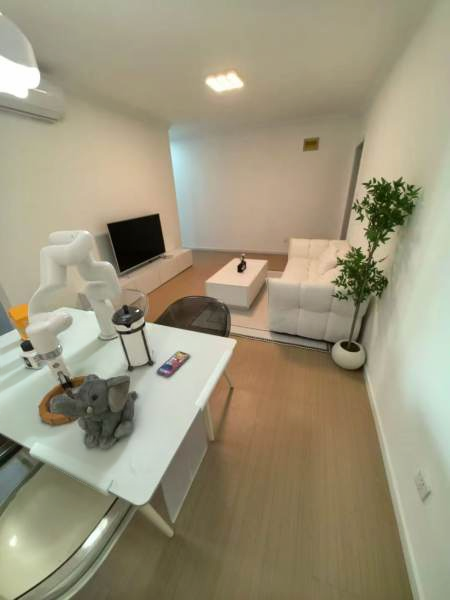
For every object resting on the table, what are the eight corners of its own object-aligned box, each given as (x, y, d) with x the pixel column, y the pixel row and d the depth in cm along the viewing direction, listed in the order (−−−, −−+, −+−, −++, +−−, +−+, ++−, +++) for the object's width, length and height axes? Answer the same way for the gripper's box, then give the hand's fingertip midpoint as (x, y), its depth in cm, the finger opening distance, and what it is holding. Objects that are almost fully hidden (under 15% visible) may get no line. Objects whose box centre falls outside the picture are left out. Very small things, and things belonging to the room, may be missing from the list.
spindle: (77, 394, 92) (72, 383, 89) (80, 400, 89) (74, 389, 86) (66, 400, 89) (60, 389, 87) (68, 406, 87) (62, 395, 84)
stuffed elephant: (82, 471, 66) (43, 407, 54) (82, 416, 83) (53, 357, 71) (148, 437, 74) (128, 375, 62) (136, 393, 91) (119, 337, 79)
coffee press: (164, 354, 111) (152, 299, 98) (139, 376, 99) (121, 316, 85) (139, 345, 119) (124, 293, 106) (113, 364, 106) (93, 308, 93)
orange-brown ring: (93, 373, 102) (91, 368, 100) (107, 400, 88) (105, 394, 87) (39, 400, 90) (36, 395, 89) (46, 435, 76) (42, 430, 75)
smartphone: (156, 372, 100) (178, 352, 112) (169, 377, 97) (190, 356, 108) (156, 370, 100) (178, 350, 111) (168, 375, 96) (190, 354, 108)
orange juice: (21, 338, 131) (4, 308, 122) (39, 330, 138) (24, 301, 129) (27, 342, 127) (10, 311, 118) (45, 334, 134) (30, 304, 125)
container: (39, 369, 107) (26, 347, 101) (26, 367, 108) (13, 345, 102) (53, 358, 113) (42, 336, 108) (40, 356, 115) (29, 335, 109)
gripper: (65, 356, 84) (82, 392, 92) (58, 338, 94) (73, 372, 103) (41, 367, 79) (61, 403, 87) (36, 347, 90) (54, 381, 98)
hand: (67, 386), depth 95 cm, fingers closed on orange-brown ring, 2 cm apart
